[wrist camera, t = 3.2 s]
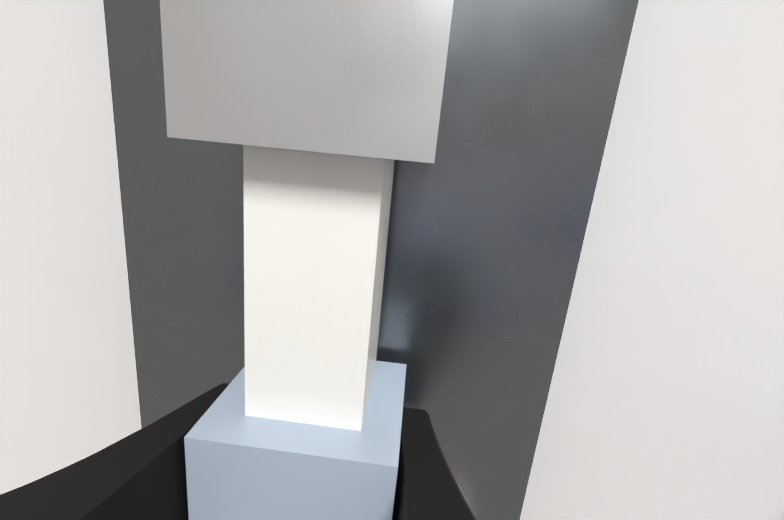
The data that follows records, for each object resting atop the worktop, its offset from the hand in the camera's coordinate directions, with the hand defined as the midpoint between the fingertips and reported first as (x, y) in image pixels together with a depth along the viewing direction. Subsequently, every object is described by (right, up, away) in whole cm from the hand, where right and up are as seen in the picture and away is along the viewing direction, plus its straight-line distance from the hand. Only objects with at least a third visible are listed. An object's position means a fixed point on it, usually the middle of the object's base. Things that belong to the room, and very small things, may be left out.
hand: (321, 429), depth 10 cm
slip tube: (0, +2, 0) cm, 2 cm away
